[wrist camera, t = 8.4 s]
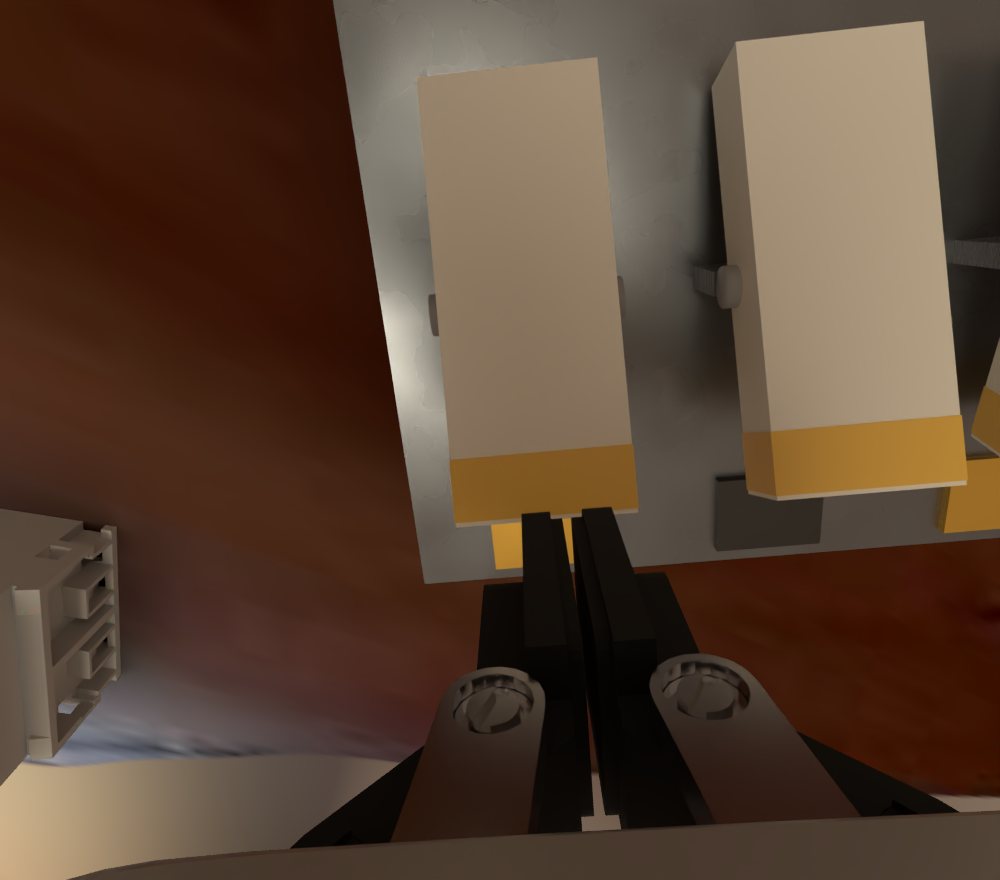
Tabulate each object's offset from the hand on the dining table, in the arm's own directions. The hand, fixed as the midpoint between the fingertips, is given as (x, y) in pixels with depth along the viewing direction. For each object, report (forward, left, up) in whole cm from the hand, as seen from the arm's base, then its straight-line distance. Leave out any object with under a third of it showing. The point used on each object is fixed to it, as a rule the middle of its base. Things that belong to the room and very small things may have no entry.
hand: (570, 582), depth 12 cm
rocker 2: (-4, +7, -5) cm, 10 cm away
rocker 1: (-4, 0, -5) cm, 7 cm away
